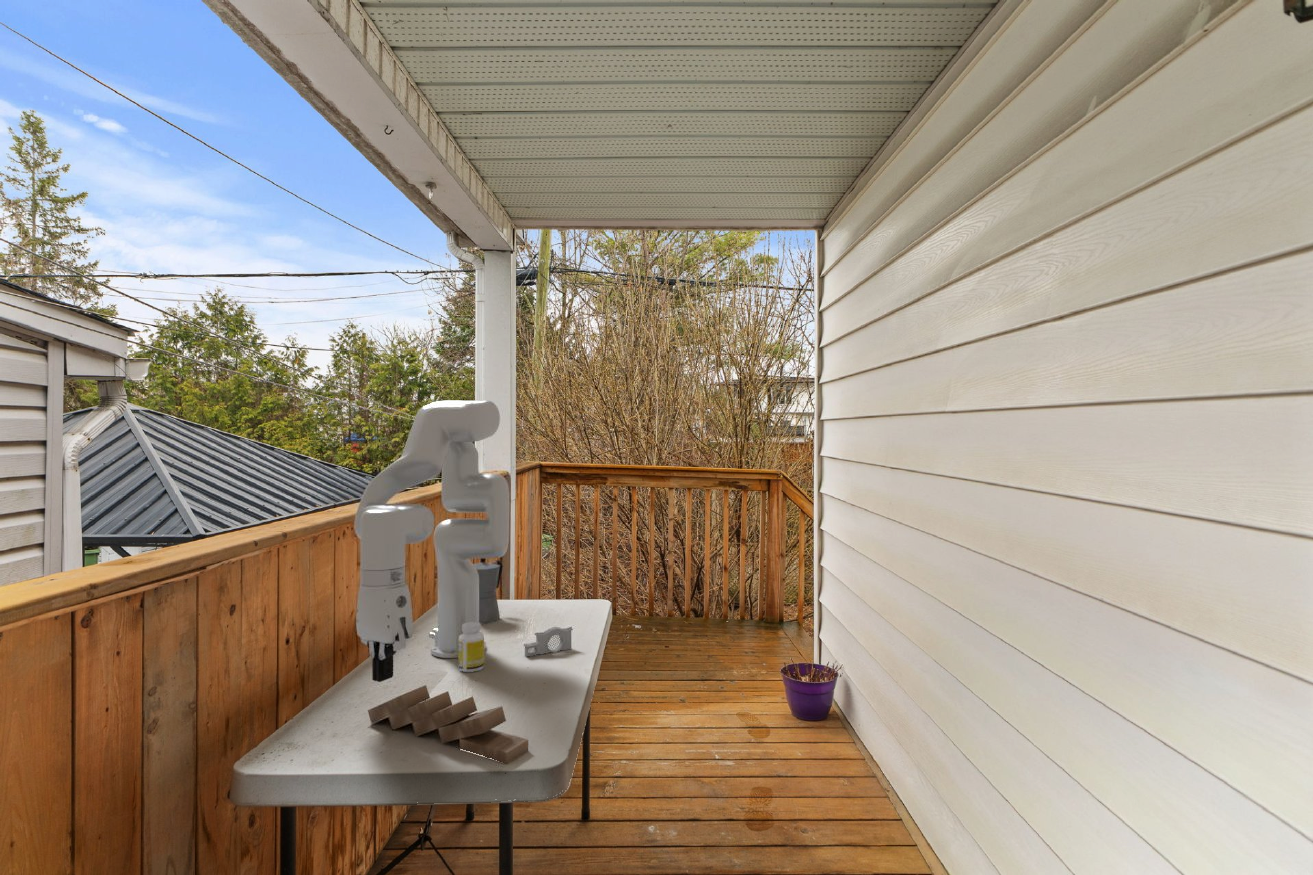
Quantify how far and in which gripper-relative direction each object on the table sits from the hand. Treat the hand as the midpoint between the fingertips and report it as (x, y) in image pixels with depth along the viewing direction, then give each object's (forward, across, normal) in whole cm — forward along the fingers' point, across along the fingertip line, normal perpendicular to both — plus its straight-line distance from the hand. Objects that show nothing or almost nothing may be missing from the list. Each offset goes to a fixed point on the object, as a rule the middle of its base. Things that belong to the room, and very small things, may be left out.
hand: (382, 678), depth 117 cm
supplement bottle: (+7, +5, -27) cm, 28 cm away
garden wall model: (+7, -3, -44) cm, 45 cm away
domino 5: (+6, -21, 0) cm, 22 cm away
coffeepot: (+7, +32, -60) cm, 68 cm away
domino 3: (+6, -11, 0) cm, 12 cm away
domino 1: (+6, 0, 0) cm, 6 cm away
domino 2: (+6, -5, 0) cm, 8 cm away
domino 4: (+6, -17, 0) cm, 18 cm away
